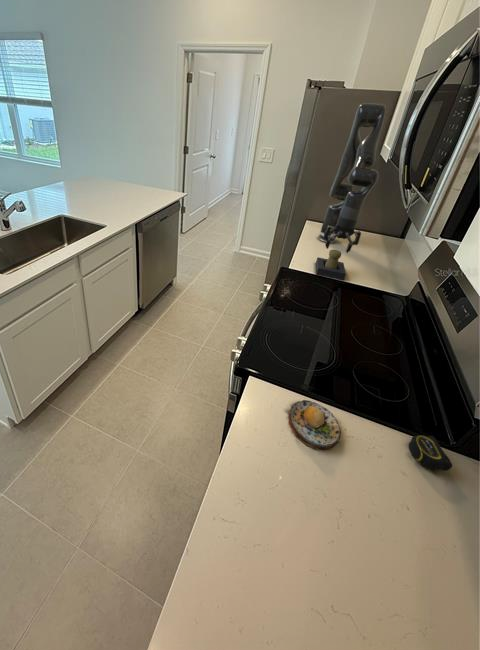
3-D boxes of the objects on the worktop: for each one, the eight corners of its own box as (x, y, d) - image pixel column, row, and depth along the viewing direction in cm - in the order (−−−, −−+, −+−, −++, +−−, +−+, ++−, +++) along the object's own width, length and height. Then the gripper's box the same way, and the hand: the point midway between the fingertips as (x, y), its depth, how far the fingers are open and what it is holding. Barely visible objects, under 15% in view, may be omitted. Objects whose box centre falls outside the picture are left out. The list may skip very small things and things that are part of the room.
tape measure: (448, 474, 67) (457, 465, 65) (417, 471, 67) (425, 462, 65) (428, 443, 73) (436, 434, 71) (400, 441, 73) (407, 431, 71)
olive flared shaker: (333, 269, 148) (340, 248, 143) (337, 275, 143) (345, 254, 138) (320, 267, 148) (327, 247, 143) (324, 273, 143) (331, 252, 138)
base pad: (315, 263, 152) (317, 257, 150) (341, 268, 149) (343, 262, 148) (316, 274, 142) (318, 267, 140) (343, 280, 139) (346, 273, 138)
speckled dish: (348, 448, 70) (360, 428, 66) (301, 453, 68) (310, 433, 64) (321, 402, 80) (330, 383, 77) (279, 406, 78) (286, 386, 74)
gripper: (365, 216, 133) (352, 249, 142) (331, 210, 137) (320, 243, 145) (368, 222, 127) (354, 256, 135) (332, 215, 130) (320, 249, 139)
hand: (336, 249), depth 140 cm, fingers open, 8 cm apart
